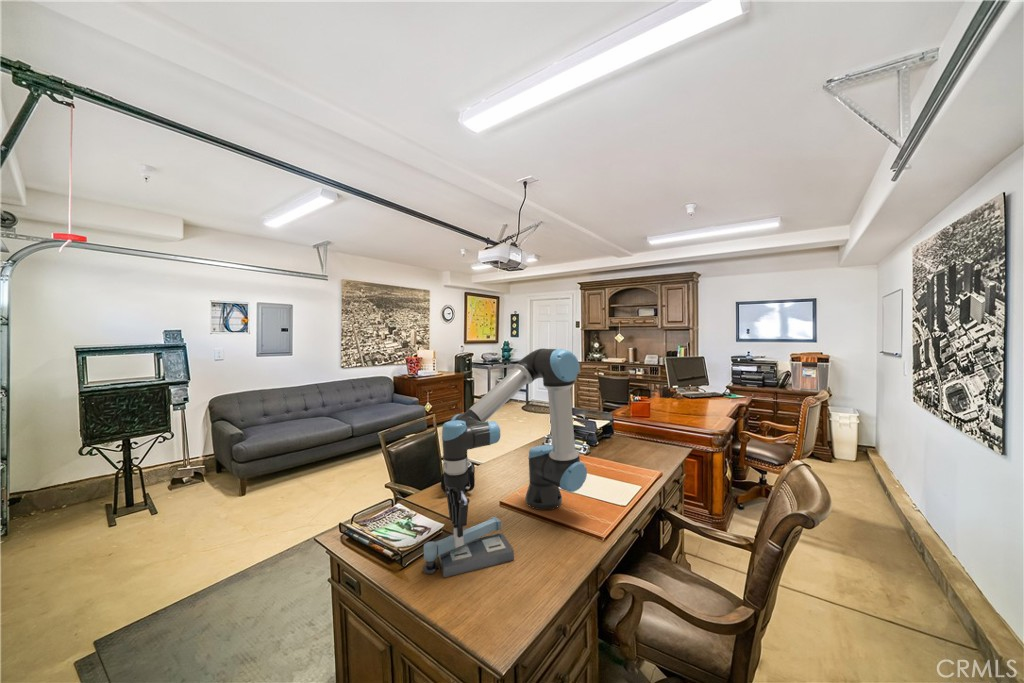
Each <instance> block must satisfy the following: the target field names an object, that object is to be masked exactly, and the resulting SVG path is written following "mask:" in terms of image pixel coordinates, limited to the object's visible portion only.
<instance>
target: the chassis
mask: <svg viewBox="0 0 1024 683" xmlns="http://www.w3.org/2000/svg"><path fill="white" fill-rule="evenodd" d="M437 558H438V560H439V566H440V568H441V572H442V576H443V578H444V579H446V578H448V577H449V578H450V577H454V576H456V575H460V574H464V573H468V572H472V571H477V570H481V569H485V568H488V567H492V566H497V565H500V564H504V563H508V562H509V563H510V562H512V561H515V551H514V548H513V547H512V545H511V544H510V542H509V540H508V539H507V537H506V536H505V534H504V532H501V533H496V534H492V535H488V536H487V535H485V536H482V537H479V538H477V539H475V540H472V541H470V542H468V543H466V544H464V545H462V546H460V547H457V548H454V549H452V550H450V551H447V552H445V553H443V554H441V555H438V554H437Z"/></svg>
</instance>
